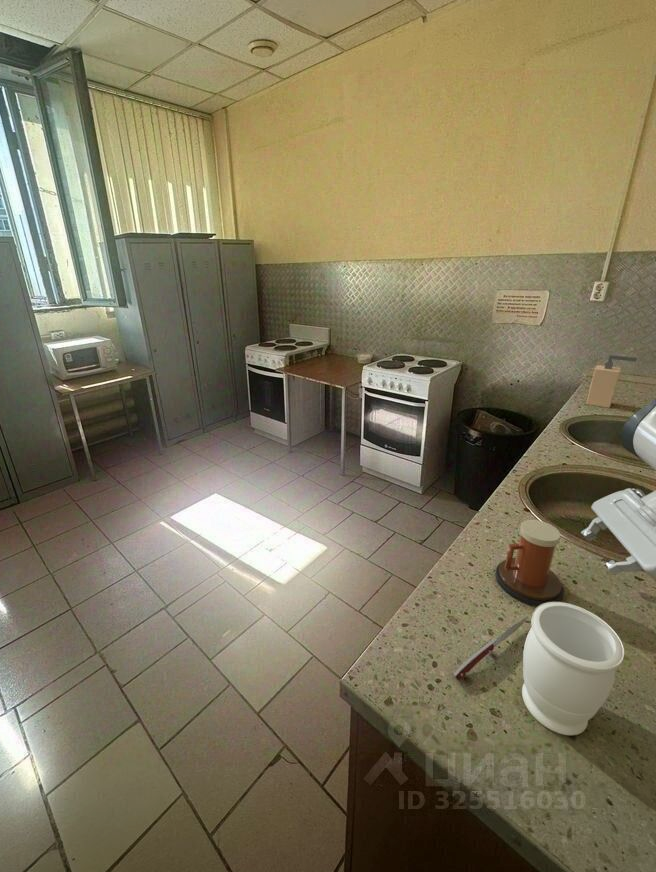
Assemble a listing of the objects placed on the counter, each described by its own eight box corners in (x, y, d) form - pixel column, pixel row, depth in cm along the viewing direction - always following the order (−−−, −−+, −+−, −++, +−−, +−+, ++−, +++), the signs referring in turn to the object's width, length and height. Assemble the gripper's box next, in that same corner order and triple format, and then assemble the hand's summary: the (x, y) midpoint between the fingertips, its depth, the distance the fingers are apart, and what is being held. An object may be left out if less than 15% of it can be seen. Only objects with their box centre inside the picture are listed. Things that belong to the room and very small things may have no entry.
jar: (531, 659, 65) (549, 589, 60) (606, 708, 58) (634, 634, 53) (501, 702, 59) (518, 628, 54) (581, 764, 52) (610, 686, 46)
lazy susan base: (547, 565, 85) (548, 561, 85) (573, 610, 74) (575, 606, 74) (488, 560, 87) (489, 556, 87) (505, 603, 76) (506, 599, 76)
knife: (456, 687, 62) (458, 673, 60) (449, 680, 63) (451, 667, 61) (529, 626, 71) (532, 613, 70) (522, 621, 72) (525, 608, 71)
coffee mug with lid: (538, 558, 86) (549, 511, 81) (573, 598, 75) (589, 547, 71) (488, 561, 85) (497, 514, 81) (517, 602, 75) (529, 550, 71)
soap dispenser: (585, 404, 177) (598, 355, 169) (588, 399, 183) (600, 352, 175) (621, 409, 169) (636, 359, 161) (623, 404, 175) (637, 355, 167)
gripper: (625, 474, 81) (562, 511, 86) (700, 539, 62) (613, 580, 67) (644, 495, 81) (581, 529, 87) (723, 565, 63) (636, 603, 68)
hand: (595, 552), depth 77 cm, fingers open, 8 cm apart
